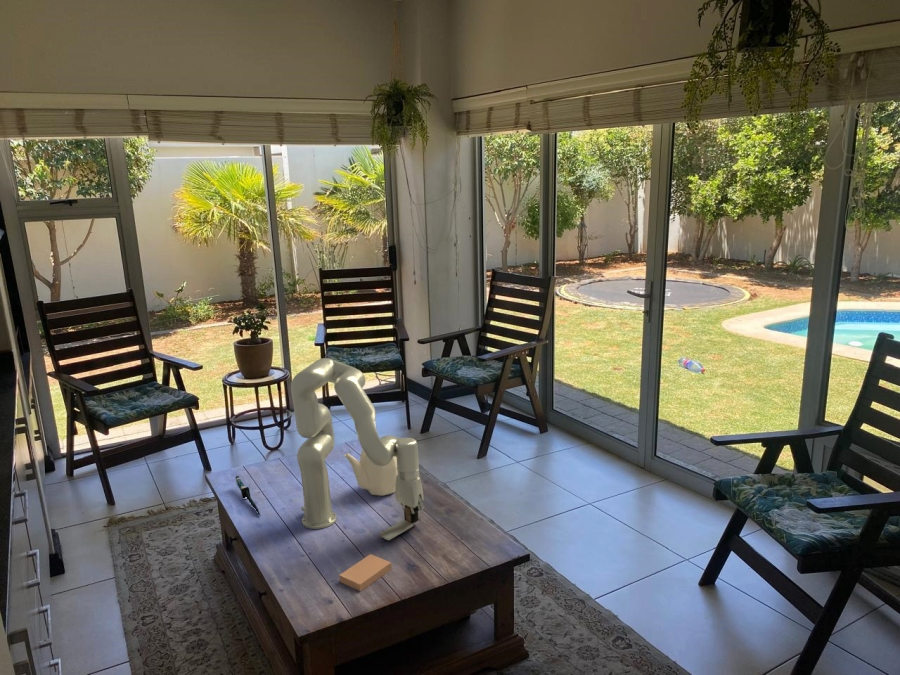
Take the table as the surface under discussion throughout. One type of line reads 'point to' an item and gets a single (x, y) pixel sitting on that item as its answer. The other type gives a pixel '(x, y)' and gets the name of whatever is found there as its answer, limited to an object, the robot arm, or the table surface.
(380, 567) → the tile
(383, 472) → the cream teapot
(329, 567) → the table surface
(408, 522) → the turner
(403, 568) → the table surface
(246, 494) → the knife
